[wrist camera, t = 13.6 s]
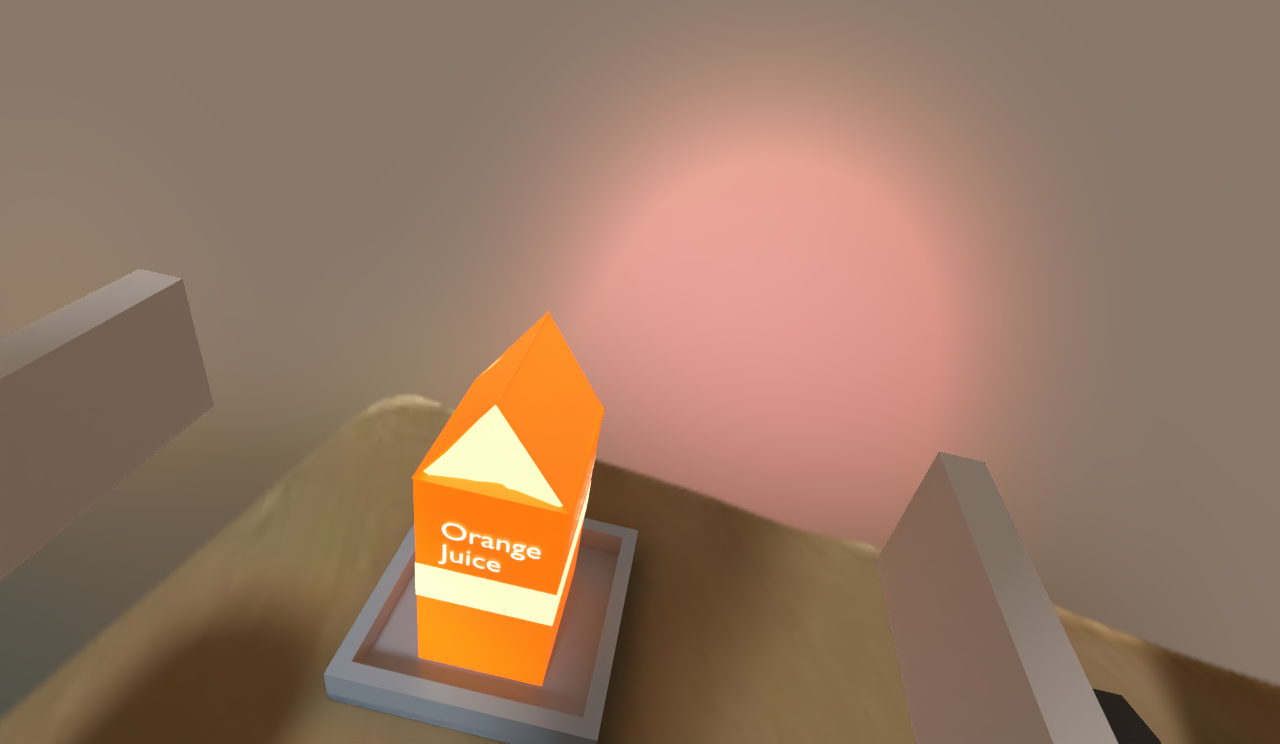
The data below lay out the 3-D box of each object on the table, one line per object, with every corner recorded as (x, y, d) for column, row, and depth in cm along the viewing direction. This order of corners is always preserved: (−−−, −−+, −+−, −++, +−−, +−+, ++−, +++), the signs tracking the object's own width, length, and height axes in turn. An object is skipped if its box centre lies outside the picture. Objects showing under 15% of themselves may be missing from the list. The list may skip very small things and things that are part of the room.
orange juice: (576, 569, 45) (621, 324, 34) (543, 688, 37) (587, 425, 26) (468, 544, 45) (478, 292, 34) (414, 657, 38) (404, 383, 26)
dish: (632, 553, 48) (638, 530, 46) (591, 763, 35) (597, 740, 34) (438, 507, 48) (438, 483, 46) (328, 699, 35) (323, 674, 34)
